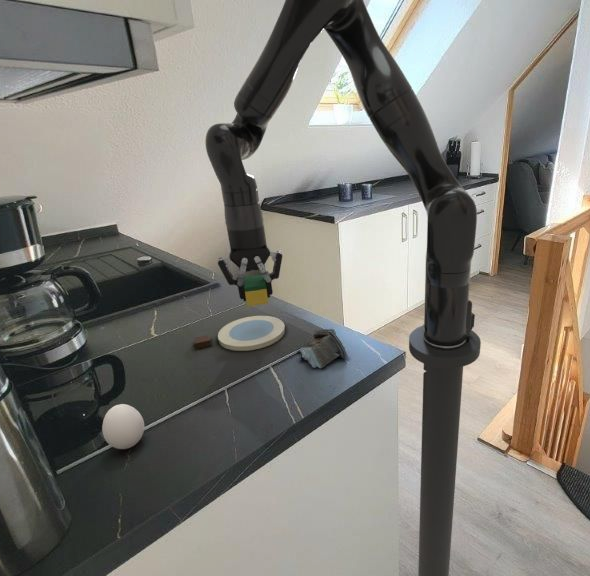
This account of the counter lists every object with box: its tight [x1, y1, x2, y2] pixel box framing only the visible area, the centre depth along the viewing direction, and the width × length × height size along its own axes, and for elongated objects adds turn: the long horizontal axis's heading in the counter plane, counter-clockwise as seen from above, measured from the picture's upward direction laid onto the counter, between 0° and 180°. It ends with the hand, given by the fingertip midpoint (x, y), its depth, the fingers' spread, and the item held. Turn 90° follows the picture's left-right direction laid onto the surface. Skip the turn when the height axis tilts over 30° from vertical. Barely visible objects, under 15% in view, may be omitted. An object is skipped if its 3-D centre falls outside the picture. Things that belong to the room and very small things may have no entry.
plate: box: [217, 315, 286, 352], centre depth 95 cm, size 15×15×1 cm
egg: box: [101, 403, 145, 450], centre depth 61 cm, size 5×5×7 cm
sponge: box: [243, 274, 269, 307], centre depth 91 cm, size 7×4×4 cm, turn 20°
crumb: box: [194, 334, 212, 350], centre depth 91 cm, size 3×3×2 cm
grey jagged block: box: [299, 328, 348, 369], centre depth 84 cm, size 10×7×12 cm
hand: (257, 297), depth 92 cm, fingers closed on sponge, 4 cm apart
